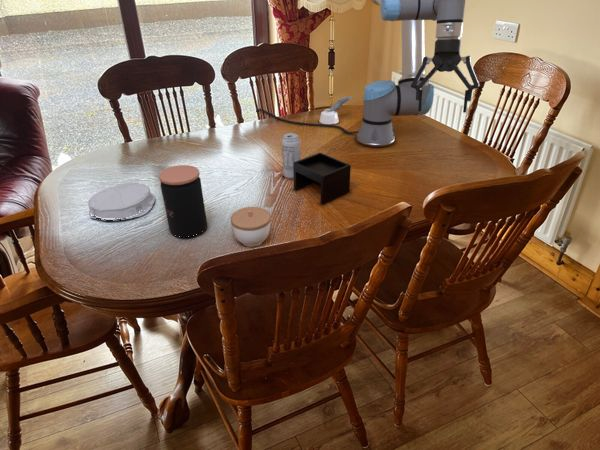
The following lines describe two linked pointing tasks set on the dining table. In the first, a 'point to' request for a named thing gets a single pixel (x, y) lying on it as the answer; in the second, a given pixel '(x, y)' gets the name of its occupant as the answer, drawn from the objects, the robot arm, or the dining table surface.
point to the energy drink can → (290, 153)
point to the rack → (323, 176)
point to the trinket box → (251, 225)
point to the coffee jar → (183, 201)
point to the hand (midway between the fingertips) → (442, 111)
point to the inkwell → (333, 112)
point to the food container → (121, 201)
